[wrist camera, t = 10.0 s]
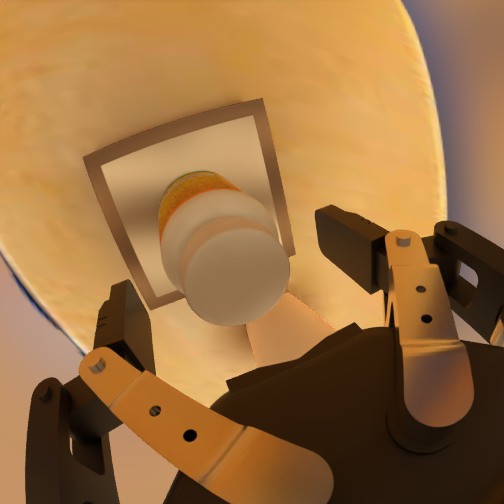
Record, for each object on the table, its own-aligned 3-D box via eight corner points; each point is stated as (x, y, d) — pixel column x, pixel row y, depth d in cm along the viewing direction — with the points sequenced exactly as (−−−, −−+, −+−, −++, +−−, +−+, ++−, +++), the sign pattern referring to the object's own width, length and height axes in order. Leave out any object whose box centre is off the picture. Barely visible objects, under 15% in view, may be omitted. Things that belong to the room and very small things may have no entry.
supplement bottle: (253, 194, 19) (333, 252, 11) (211, 260, 20) (257, 354, 12) (185, 152, 17) (218, 178, 9) (142, 226, 18) (139, 314, 9)
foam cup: (305, 342, 34) (364, 422, 22) (230, 357, 31) (274, 455, 19) (319, 273, 30) (402, 351, 19) (232, 283, 27) (292, 390, 16)
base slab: (94, 152, 18) (81, 157, 15) (244, 102, 20) (264, 97, 17) (148, 284, 24) (150, 312, 20) (275, 236, 26) (297, 255, 23)
